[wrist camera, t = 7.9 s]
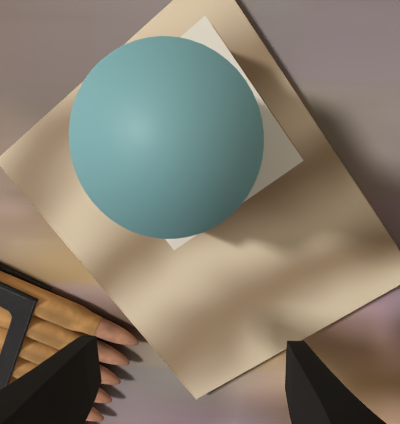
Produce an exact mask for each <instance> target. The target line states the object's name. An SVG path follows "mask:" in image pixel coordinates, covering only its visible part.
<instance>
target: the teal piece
mask: <svg viewBox="0 0 400 424" xmlns="http://www.w3.org/2000/svg"><path fill="white" fill-rule="evenodd" d="M69 148H70V155H71V159H72V163H73V167H74V170H75V172H76V175H77V177H78V180H79V182H80V183H81V185H82V187H83V189H84V191H85V192H86V194H87V195H88V197H89V198H90V199H91V201H92V202H93V203H94V204H95V205H96V206H97V207H98V209H99V210H100V211H101V212H103V213H104V214H105V215H106V216H107V217H108V218H109V219H111V220H112V221H114V222H115V223H117V224H118V225H120V226H122V227H124V228H126V229H128V230H130V231H132V232H135V233H137V234H140V235H144V236H148V237H152V238H161V239H178V238H185V237H190V236H194V235H197V234H200V233H203V232H205V231H207V230H210V229H212V228H214V227H215V226H217V225H219V224H220V223H222V222H223V221H224V220H226V219H227V218H228V217H230V216H231V215H232V214H233V213H234V212H235V211H236V210H237V209H238V208H239V207H240V206H241V204H242V203H243V202H244V200H245V199H246V198H247V196H248V195H249V193H250V191H251V189H252V187H253V186H254V184H255V181H256V179H257V176H258V174H259V170H260V167H261V163H262V158H263V150H264V130H263V123H262V117H261V113H260V110H259V106H258V104H257V101H256V99H255V96H254V94H253V92H252V90H251V88H250V87H249V85H248V83H247V82H246V80H245V79H244V78H243V76H242V75H241V74H240V72H239V71H238V70H237V69H236V68H235V67H234V66H233V65H232V64H231V63H230V62H229V61H228V60H227V59H226V58H224V57H223V56H222V55H220V54H219V53H218V52H216V51H214V50H213V49H211V48H209V47H207V46H205V45H203V44H201V43H198V42H195V41H192V40H189V39H185V38H180V37H172V36H156V37H147V38H143V39H139V40H135V41H133V42H130V43H127V44H125V45H123V46H121V47H119V48H117V49H116V50H114V51H112V52H111V53H110V54H108V55H107V56H106V57H104V58H103V59H102V60H101V61H100V62H99V63H98V64H97V65H96V66H95V67H94V68H93V69H92V70H91V72H90V73H89V74H88V76H87V77H86V78H85V80H84V81H83V83H82V85H81V87H80V89H79V91H78V93H77V95H76V98H75V101H74V103H73V107H72V111H71V115H70V122H69Z"/></svg>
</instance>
